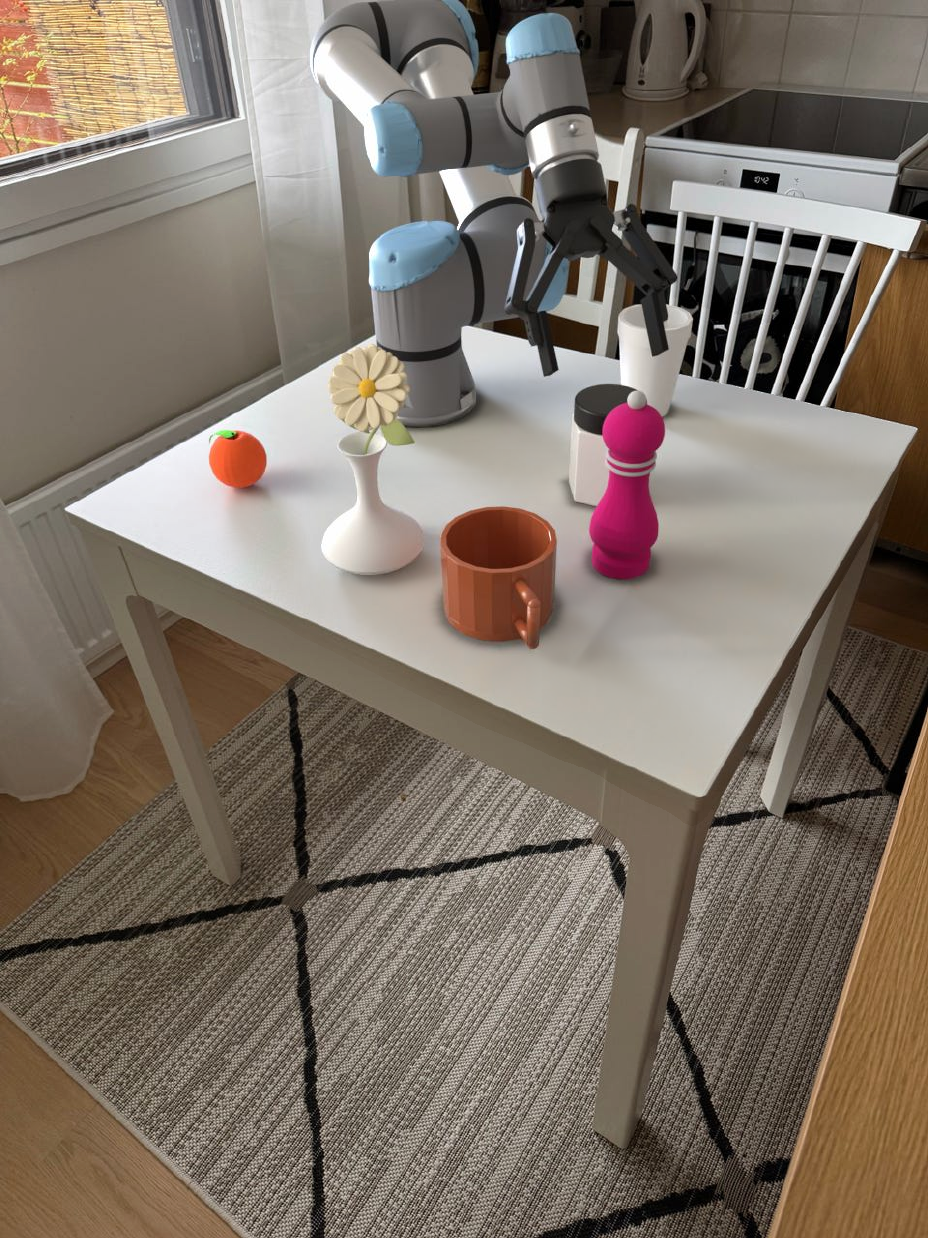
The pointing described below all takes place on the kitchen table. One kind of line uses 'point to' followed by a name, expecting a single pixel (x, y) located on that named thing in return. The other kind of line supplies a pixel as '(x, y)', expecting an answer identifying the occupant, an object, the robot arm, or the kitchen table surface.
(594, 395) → the jar
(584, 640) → the kitchen table surface
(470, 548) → the terracotta coffee mug
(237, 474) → the clementine
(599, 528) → the pepper mill
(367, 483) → the flower in vase
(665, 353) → the foam cup
